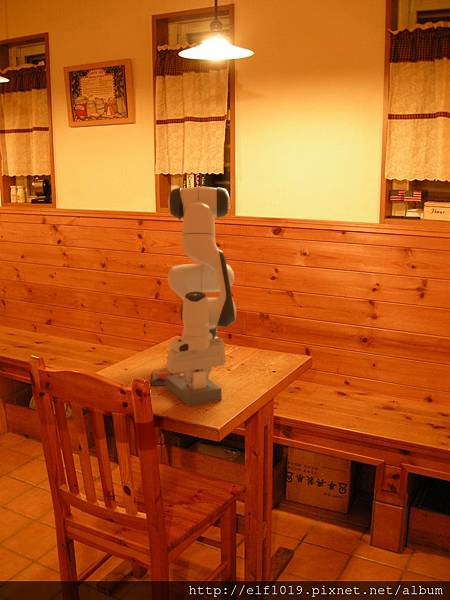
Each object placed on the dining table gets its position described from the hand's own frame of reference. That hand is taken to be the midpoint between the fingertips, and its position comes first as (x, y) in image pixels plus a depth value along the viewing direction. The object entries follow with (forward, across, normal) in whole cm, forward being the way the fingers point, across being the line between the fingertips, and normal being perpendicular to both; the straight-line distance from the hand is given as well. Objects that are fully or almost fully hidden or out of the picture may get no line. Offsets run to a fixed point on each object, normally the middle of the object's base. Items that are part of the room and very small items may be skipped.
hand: (197, 381), depth 208 cm
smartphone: (+6, +4, -23) cm, 24 cm away
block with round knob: (+5, 0, 0) cm, 5 cm away
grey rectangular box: (+6, 0, -4) cm, 7 cm away
